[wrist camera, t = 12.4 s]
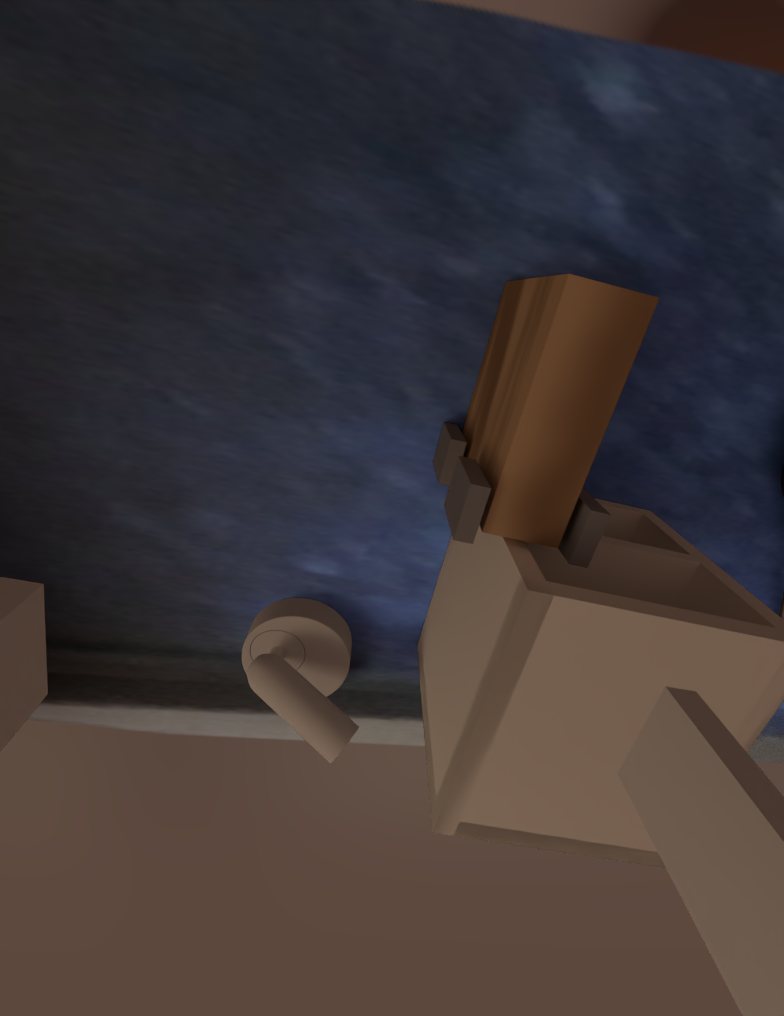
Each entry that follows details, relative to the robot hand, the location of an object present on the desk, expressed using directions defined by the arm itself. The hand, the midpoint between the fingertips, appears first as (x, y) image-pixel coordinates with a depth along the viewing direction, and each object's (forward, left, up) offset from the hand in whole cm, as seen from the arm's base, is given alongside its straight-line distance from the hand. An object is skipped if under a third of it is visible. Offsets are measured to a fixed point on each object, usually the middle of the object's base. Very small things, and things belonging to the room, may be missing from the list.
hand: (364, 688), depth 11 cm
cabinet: (+13, -9, -26) cm, 30 cm away
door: (+8, +4, -26) cm, 28 cm away
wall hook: (-2, -20, -26) cm, 33 cm away
